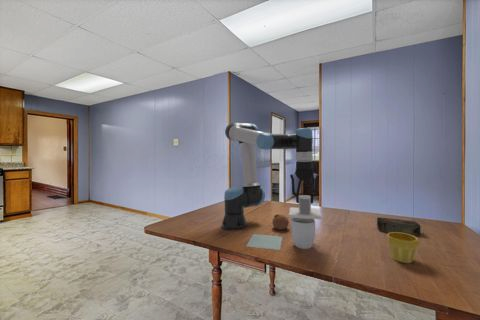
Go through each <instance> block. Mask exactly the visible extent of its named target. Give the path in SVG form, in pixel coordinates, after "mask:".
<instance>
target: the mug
mask: <svg viewBox="0 0 480 320" xmlns="http://www.w3.org/2000/svg"><path fill="white" fill-rule="evenodd" d="M290 219H291V221H290V223H291V224H290V225H291V226H290V229H291V230H290V231H291V232H290V233H291V238H292V241H293V244H294V245H295V247H296V248H298V249H300V250H301V249H302V250H309V249H311V247H312V246H313V244H314V241H315V237H316V219H305V218H290Z"/></svg>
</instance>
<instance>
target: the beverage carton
mask: <svg viewBox="0 0 480 320" xmlns="http://www.w3.org/2000/svg"><path fill="white" fill-rule="evenodd" d="M421 226H422V225H421V224H419V222H417V221H416V220H406V219H397V218H391V217H390V218H387V217H377V219H376V227H377V229H378V232H383V233H391V232H400V233H406V234H410V235H413V236H415V237H417V236H418V237H420V236H421V228H422V227H421Z"/></svg>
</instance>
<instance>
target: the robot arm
mask: <svg viewBox="0 0 480 320" xmlns="http://www.w3.org/2000/svg"><path fill="white" fill-rule="evenodd" d="M224 134H225V136H226V138H227V139H228V140H230V141H233V142H238V145H239V146H240V147H241V156H242V169H243V179H244V181H243V182H244V184H242V187H239V186H237V187H235V186H234V187H230V188H227V189H226V190H225V191H224V195H223V196H224V197H223V199H224V215H223V219H222V223H221V226H222V229H223V230H226V231H239V230H243V229H246V228H247V226H248V223H247V220H246V216H245V214H244V213H245V208H251V207H257V206H260V205H262V204H263V203H264V202H265V199H266V198H265V197H266V193H265V190H264V188H262V186H261V184H260V183H259V182H258V170H257V158H256V157H257V156H256V148H255V146H257V147H258V149H260V150H266V151H267V150H295V160H296V161H295V166H296V167H295V172H294V173H290V176H289V177H290V179H291V193H292V196H295V202H296V203H297V204H298V208H299V210H300V191H301V186H302V182H304V181H305V182H307V185H308V186H307V187H308V190H309V194H310V195H309V211H311V208H312V207H311V205H313V204H314V197H317V196H318V187H319V186H318V185H319V184H318V181H319V178H320V175H319V174H317V173H314V170H313V157H314V156H313V139H314V138H313V130H312V128H309V127H303V128H302V127H301V128H297V129H296V130H295V133H290V134H289V133H287V134H286V133H285V134H284V133H271V132H270V133H269V132H264V131H260V130H259V127H258V126H257V125H256V124H255V123H250V122H248V123H245V122H231V123H229V124H227V126H226V127H225V129H224ZM296 177H297V179H298V184H297V190H296V187H295V186H296V185H295V178H296ZM311 178H313V179H314V184H313V185H314V189H312V184H311ZM313 190H314V191H313Z"/></svg>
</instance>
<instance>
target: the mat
mask: <svg viewBox="0 0 480 320" xmlns="http://www.w3.org/2000/svg"><path fill="white" fill-rule="evenodd" d="M282 242H283V236H279V235H268V234H259V233H258V234H257V233H256V234H255V233H253V234H252V235H251V236H250V239H249V240H248V242H247V243H246V247H247V248H258V249H266V250H267V249H269V250H276V251H278V250H279V251H281V246H282Z"/></svg>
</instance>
